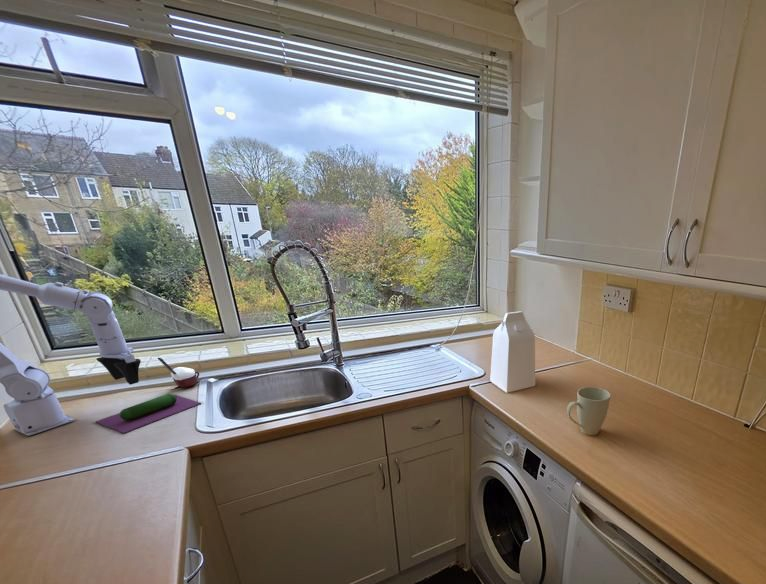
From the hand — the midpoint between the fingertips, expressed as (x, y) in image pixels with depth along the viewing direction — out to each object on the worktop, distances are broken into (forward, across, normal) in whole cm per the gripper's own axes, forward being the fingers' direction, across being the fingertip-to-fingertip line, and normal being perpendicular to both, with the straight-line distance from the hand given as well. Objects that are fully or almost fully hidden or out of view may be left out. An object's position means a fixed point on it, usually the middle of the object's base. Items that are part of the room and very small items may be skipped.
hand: (126, 380), depth 120 cm
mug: (+8, -128, -47) cm, 137 cm away
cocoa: (+9, +3, -16) cm, 18 cm away
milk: (+8, -95, -69) cm, 118 cm away
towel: (+9, -8, 0) cm, 12 cm away
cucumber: (+8, -8, 0) cm, 11 cm away
